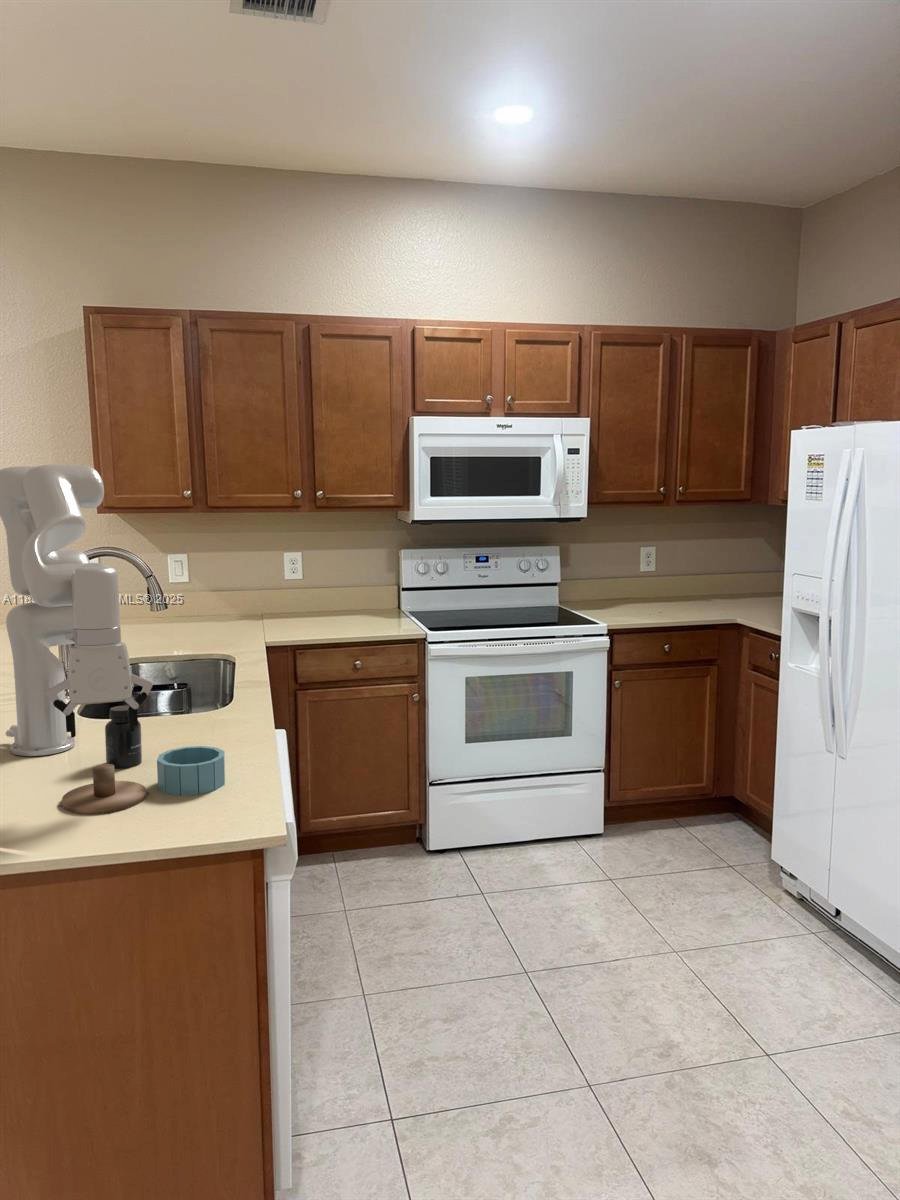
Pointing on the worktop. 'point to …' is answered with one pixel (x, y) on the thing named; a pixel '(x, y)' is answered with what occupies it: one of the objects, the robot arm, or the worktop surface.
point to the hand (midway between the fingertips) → (102, 732)
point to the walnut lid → (103, 793)
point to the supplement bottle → (122, 740)
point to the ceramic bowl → (191, 770)
